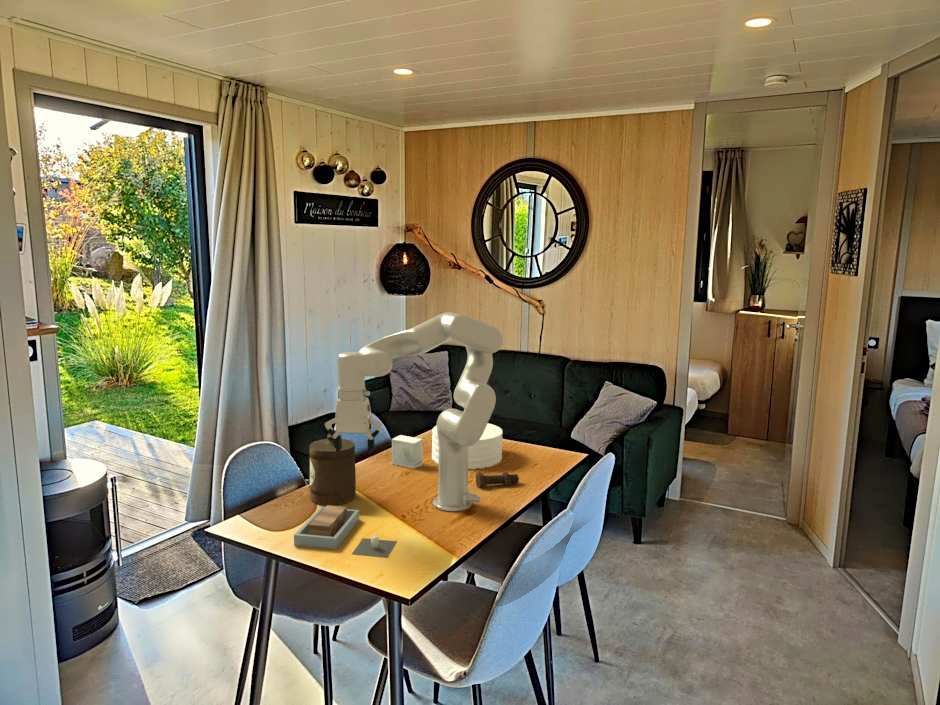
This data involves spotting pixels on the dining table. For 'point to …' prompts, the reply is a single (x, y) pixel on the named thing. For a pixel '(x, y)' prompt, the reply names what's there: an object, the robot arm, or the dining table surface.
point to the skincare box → (407, 451)
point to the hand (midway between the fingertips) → (354, 450)
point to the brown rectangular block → (328, 521)
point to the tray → (325, 541)
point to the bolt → (496, 479)
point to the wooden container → (332, 472)
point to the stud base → (376, 552)
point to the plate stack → (478, 448)
